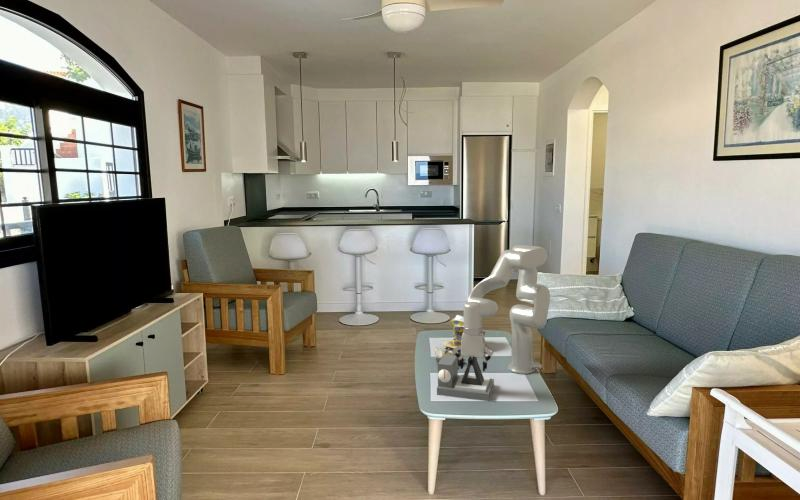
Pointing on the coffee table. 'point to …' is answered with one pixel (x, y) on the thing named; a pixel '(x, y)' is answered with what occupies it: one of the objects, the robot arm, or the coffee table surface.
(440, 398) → the coffee table surface
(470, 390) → the grey bracket with tile
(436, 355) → the ceramic sculpture
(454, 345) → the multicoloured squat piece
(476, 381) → the phone stand
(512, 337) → the robot arm
